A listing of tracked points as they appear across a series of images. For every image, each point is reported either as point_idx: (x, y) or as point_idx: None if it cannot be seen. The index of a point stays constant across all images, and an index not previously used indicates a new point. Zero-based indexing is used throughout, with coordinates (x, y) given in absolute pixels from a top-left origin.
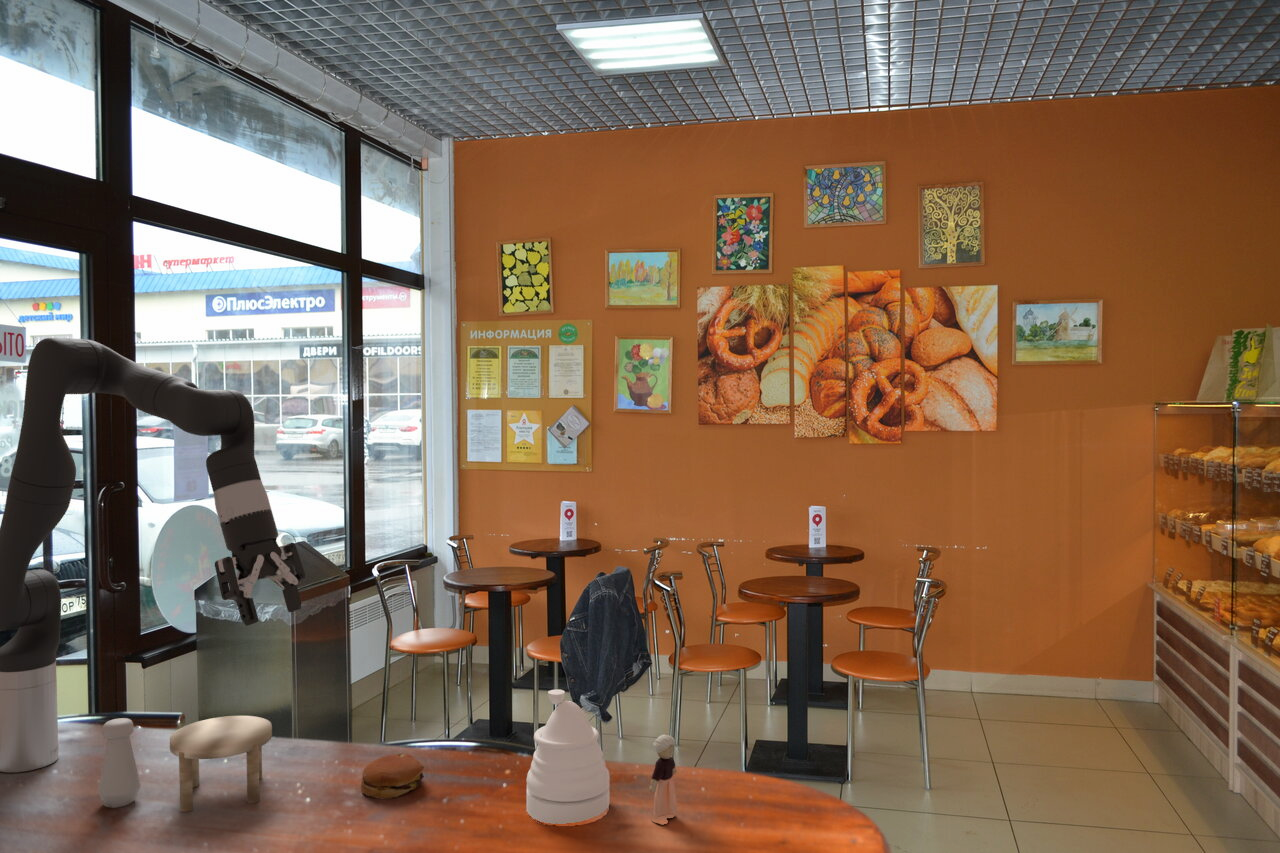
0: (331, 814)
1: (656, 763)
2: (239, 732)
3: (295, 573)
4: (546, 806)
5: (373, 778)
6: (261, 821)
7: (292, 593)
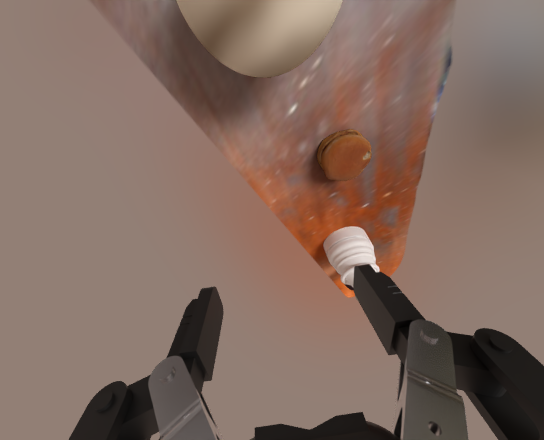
0: (280, 152)
1: (353, 288)
2: (275, 14)
3: (496, 388)
4: (326, 251)
5: (322, 163)
6: (238, 113)
7: (377, 328)
